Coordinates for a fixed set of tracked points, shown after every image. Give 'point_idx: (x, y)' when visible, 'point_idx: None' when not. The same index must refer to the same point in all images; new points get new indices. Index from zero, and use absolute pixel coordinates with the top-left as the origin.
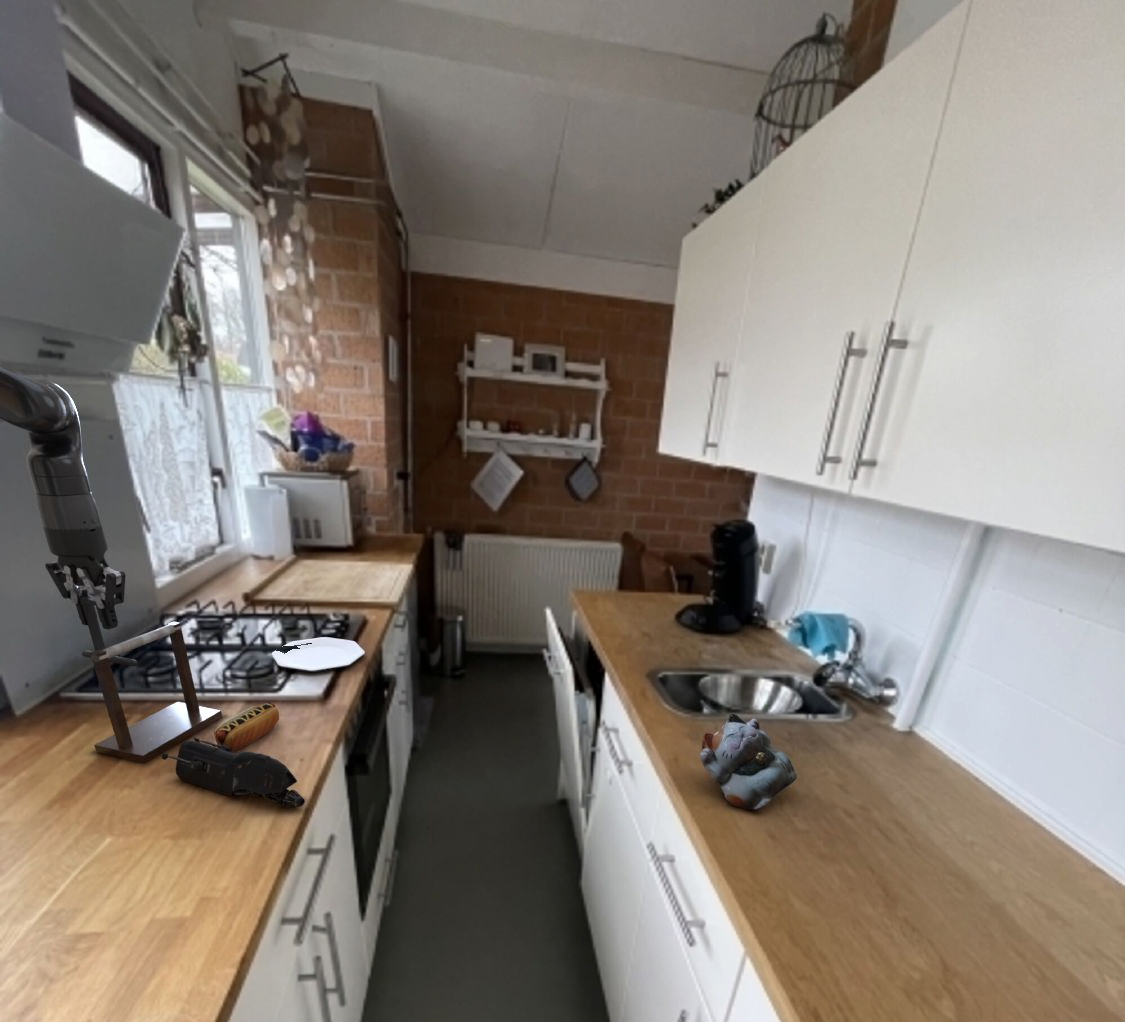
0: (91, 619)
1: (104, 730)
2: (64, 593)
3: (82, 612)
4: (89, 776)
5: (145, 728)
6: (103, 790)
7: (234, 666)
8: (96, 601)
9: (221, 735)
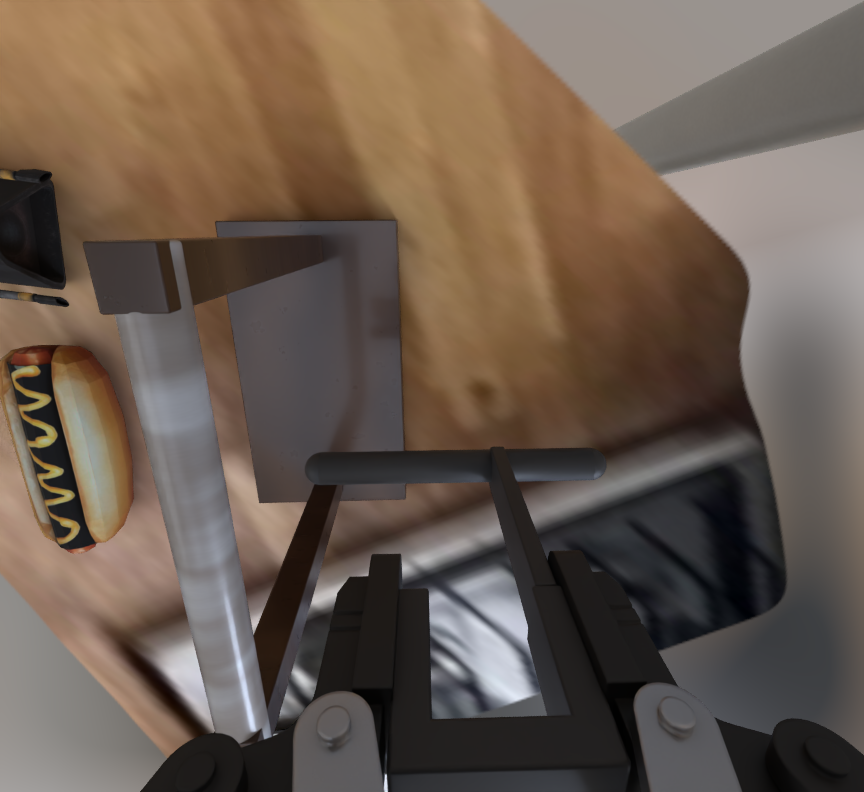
0: (532, 602)
1: (483, 326)
2: (833, 786)
3: (582, 625)
4: (296, 102)
5: (351, 351)
6: (190, 51)
7: (466, 696)
8: (366, 767)
9: (19, 351)
